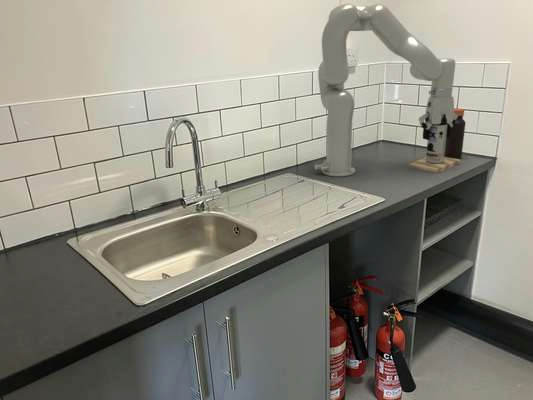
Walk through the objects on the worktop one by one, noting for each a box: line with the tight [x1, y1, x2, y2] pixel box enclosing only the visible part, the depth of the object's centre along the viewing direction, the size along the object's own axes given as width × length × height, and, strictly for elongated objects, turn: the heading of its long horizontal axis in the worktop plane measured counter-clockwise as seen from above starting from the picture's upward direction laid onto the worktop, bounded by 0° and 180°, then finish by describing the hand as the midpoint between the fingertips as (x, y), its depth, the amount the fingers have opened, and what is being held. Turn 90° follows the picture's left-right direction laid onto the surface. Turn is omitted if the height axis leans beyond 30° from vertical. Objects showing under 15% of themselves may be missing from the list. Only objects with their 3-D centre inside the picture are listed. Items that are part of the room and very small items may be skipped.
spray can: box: [425, 113, 448, 164], centre depth 170 cm, size 7×7×20 cm
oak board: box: [408, 157, 461, 174], centre depth 174 cm, size 18×12×2 cm, turn 131°
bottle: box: [444, 108, 466, 160], centre depth 180 cm, size 7×7×20 cm
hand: (436, 137), depth 170 cm, fingers open, 9 cm apart
